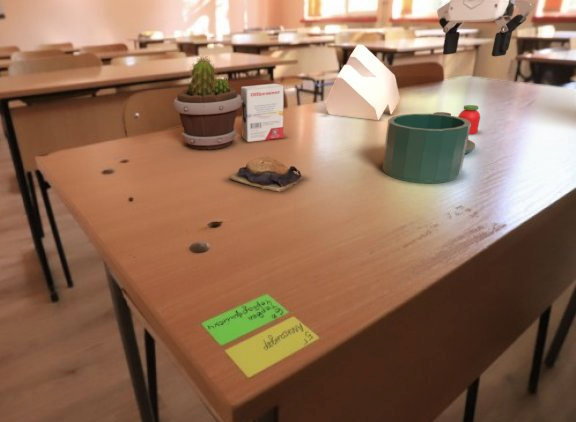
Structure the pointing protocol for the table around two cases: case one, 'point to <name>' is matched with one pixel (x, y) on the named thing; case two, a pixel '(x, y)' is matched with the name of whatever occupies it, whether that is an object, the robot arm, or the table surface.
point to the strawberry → (471, 117)
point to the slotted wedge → (363, 87)
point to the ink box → (262, 112)
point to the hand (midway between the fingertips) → (472, 54)
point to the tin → (425, 147)
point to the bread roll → (267, 174)
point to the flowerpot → (207, 108)
